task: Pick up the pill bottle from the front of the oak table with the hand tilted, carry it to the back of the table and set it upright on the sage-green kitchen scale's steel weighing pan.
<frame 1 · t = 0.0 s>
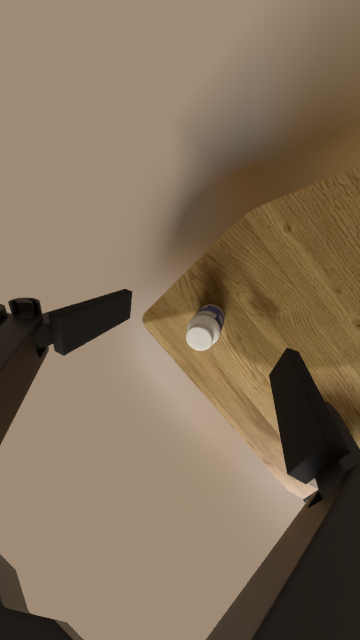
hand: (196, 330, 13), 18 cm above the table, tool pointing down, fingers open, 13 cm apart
pill bottle: (211, 316, 32), on the table
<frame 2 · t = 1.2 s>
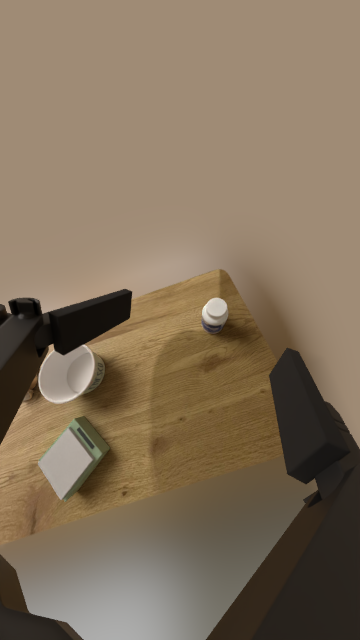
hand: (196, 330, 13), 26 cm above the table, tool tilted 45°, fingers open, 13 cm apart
pill bottle: (212, 324, 41), on the table
ornament: (28, 383, 40), on the table
scale: (80, 451, 33), on the table
food container: (87, 372, 39), on the table
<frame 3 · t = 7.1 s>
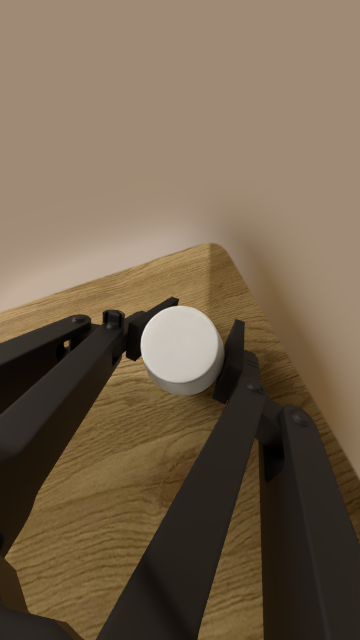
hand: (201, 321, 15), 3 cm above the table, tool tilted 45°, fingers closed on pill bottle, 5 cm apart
pill bottle: (188, 363, 17), on the table, touching gripper
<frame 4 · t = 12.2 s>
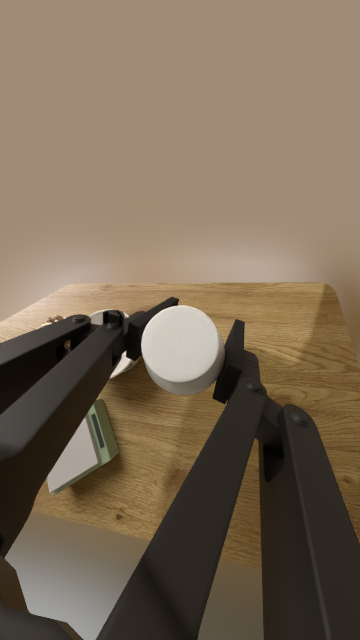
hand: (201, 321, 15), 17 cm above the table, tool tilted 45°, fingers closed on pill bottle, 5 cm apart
pill bottle: (188, 363, 17), point 13 cm above the table, touching gripper
ornament: (58, 335, 35), on the table
scale: (86, 438, 28), on the table
food container: (120, 349, 33), on the table
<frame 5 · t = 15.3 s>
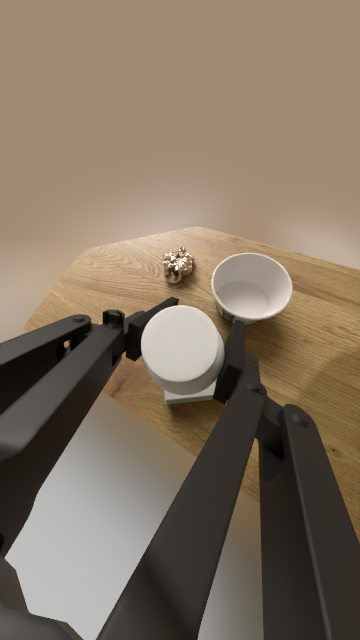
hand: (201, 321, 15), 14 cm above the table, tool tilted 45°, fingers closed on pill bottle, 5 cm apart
pill bottle: (188, 363, 17), point 11 cm above the table, touching gripper
ornament: (178, 269, 35), on the table
scale: (191, 370, 27), on the table
food container: (240, 302, 31), on the table
when the fingers open (7 cm above the table, at t = 17.7 s): pill bottle stays where it is, resting on scale.
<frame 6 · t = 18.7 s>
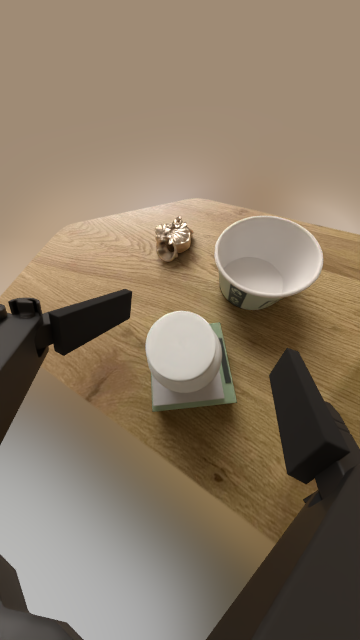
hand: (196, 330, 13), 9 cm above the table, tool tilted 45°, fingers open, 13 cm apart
pill bottle: (188, 363, 18), point 4 cm above the table, touching scale
ornament: (173, 246, 29), on the table
scale: (189, 366, 22), on the table
food container: (249, 283, 25), on the table
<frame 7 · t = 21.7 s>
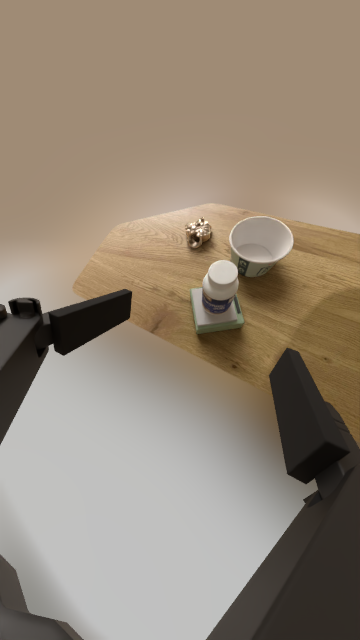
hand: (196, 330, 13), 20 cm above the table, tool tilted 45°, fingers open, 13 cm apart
pill bottle: (215, 303, 31), point 4 cm above the table, touching scale
ornament: (197, 237, 42), on the table
scale: (214, 311, 35), on the table
food container: (250, 261, 38), on the table
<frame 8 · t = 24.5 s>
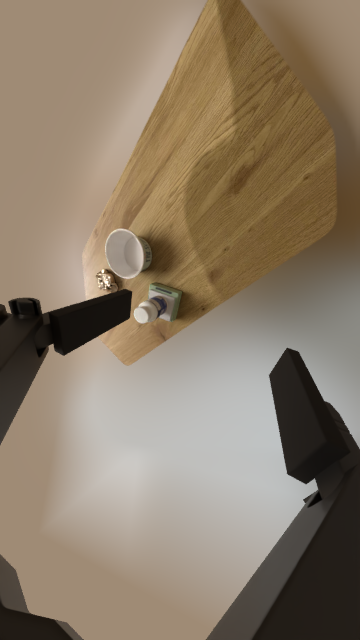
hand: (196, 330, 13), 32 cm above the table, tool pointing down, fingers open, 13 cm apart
pill bottle: (160, 304, 47), point 4 cm above the table, touching scale
ornament: (110, 281, 55), on the table
scale: (165, 300, 50), on the table
food container: (138, 254, 48), on the table
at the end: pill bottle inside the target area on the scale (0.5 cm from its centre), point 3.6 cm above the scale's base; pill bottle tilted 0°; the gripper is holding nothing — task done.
